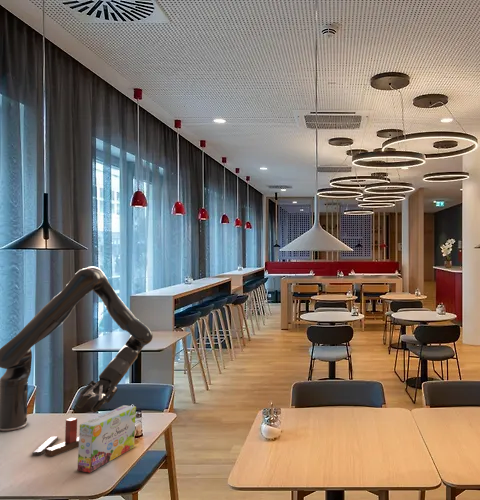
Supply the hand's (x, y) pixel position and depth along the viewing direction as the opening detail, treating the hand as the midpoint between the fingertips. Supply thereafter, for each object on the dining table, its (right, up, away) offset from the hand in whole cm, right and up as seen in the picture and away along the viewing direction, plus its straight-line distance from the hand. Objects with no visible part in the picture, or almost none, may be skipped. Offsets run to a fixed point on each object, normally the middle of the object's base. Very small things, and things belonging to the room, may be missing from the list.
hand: (85, 409), depth 171 cm
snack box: (+15, -12, -14) cm, 24 cm away
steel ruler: (-11, -12, -6) cm, 17 cm away
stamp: (-3, -12, -5) cm, 13 cm away
